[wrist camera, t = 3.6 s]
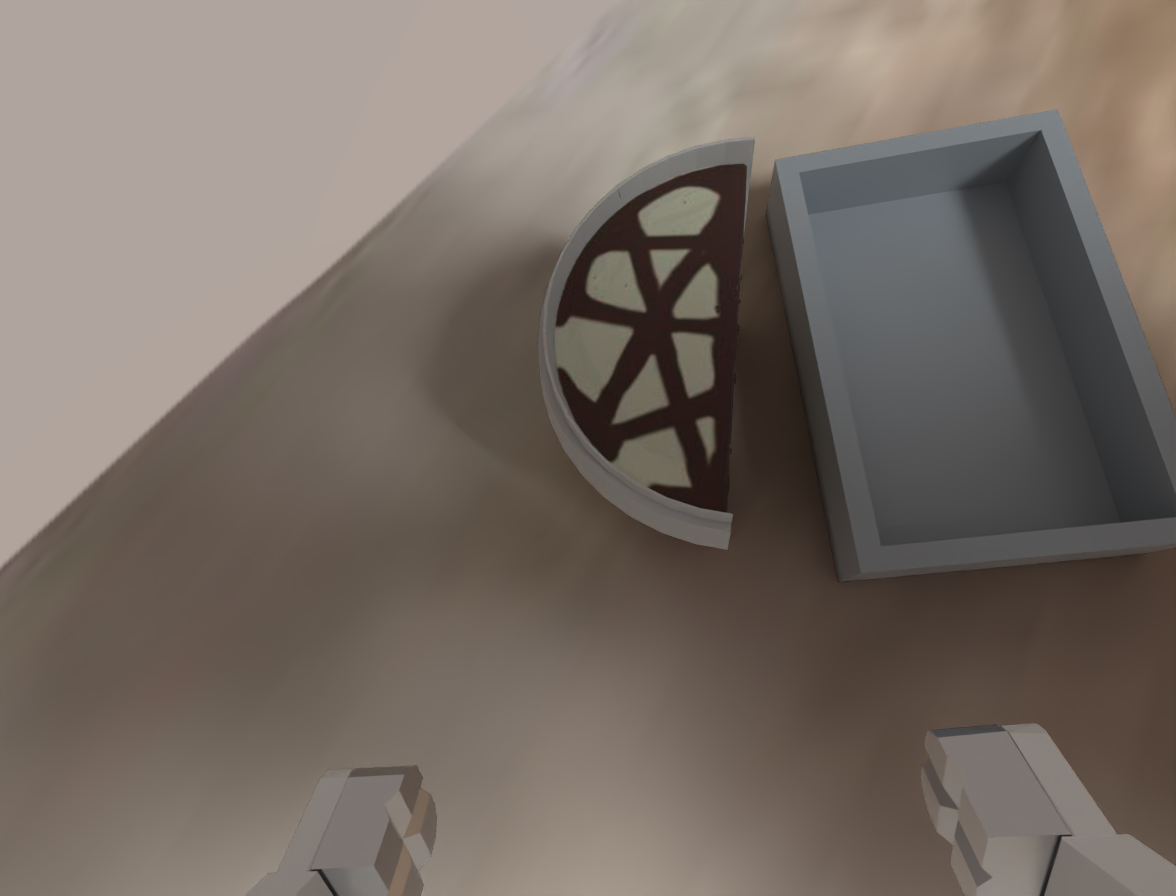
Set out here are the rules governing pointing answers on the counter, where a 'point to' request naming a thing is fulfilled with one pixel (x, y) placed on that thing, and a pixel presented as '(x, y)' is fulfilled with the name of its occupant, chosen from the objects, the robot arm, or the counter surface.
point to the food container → (653, 340)
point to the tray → (969, 355)
